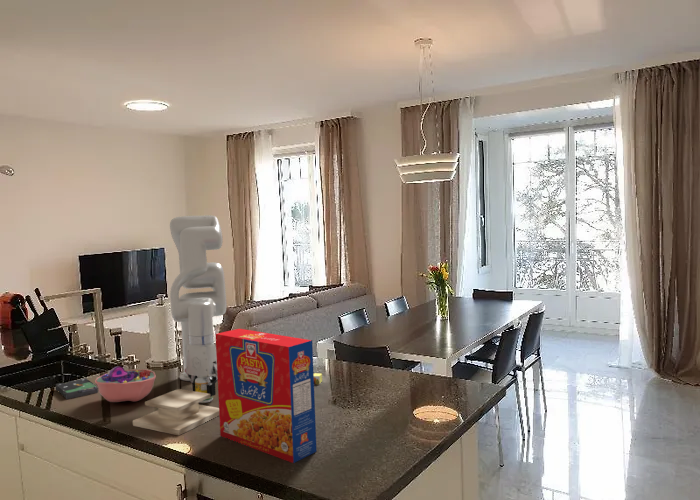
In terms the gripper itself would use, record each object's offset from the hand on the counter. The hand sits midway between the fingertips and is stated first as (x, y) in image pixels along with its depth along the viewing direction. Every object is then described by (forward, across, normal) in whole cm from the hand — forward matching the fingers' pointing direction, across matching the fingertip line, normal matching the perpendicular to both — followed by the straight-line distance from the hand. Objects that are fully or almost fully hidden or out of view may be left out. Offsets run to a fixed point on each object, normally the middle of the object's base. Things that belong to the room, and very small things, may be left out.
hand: (204, 394), depth 179 cm
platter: (+3, +16, +26) cm, 31 cm away
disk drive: (+3, -50, -10) cm, 51 cm away
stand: (+2, +5, -16) cm, 17 cm away
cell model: (+2, -24, -10) cm, 26 cm away
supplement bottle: (+2, 0, 0) cm, 2 cm away
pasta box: (+2, +39, -20) cm, 44 cm away
